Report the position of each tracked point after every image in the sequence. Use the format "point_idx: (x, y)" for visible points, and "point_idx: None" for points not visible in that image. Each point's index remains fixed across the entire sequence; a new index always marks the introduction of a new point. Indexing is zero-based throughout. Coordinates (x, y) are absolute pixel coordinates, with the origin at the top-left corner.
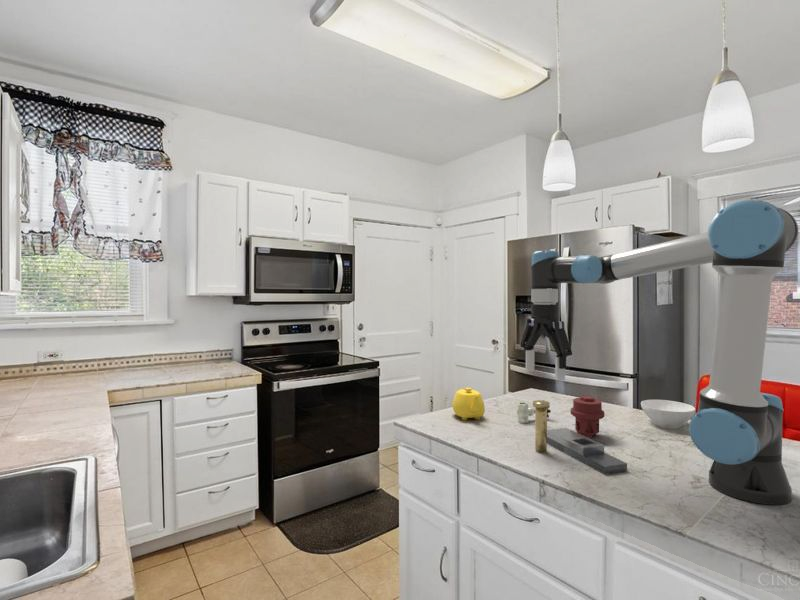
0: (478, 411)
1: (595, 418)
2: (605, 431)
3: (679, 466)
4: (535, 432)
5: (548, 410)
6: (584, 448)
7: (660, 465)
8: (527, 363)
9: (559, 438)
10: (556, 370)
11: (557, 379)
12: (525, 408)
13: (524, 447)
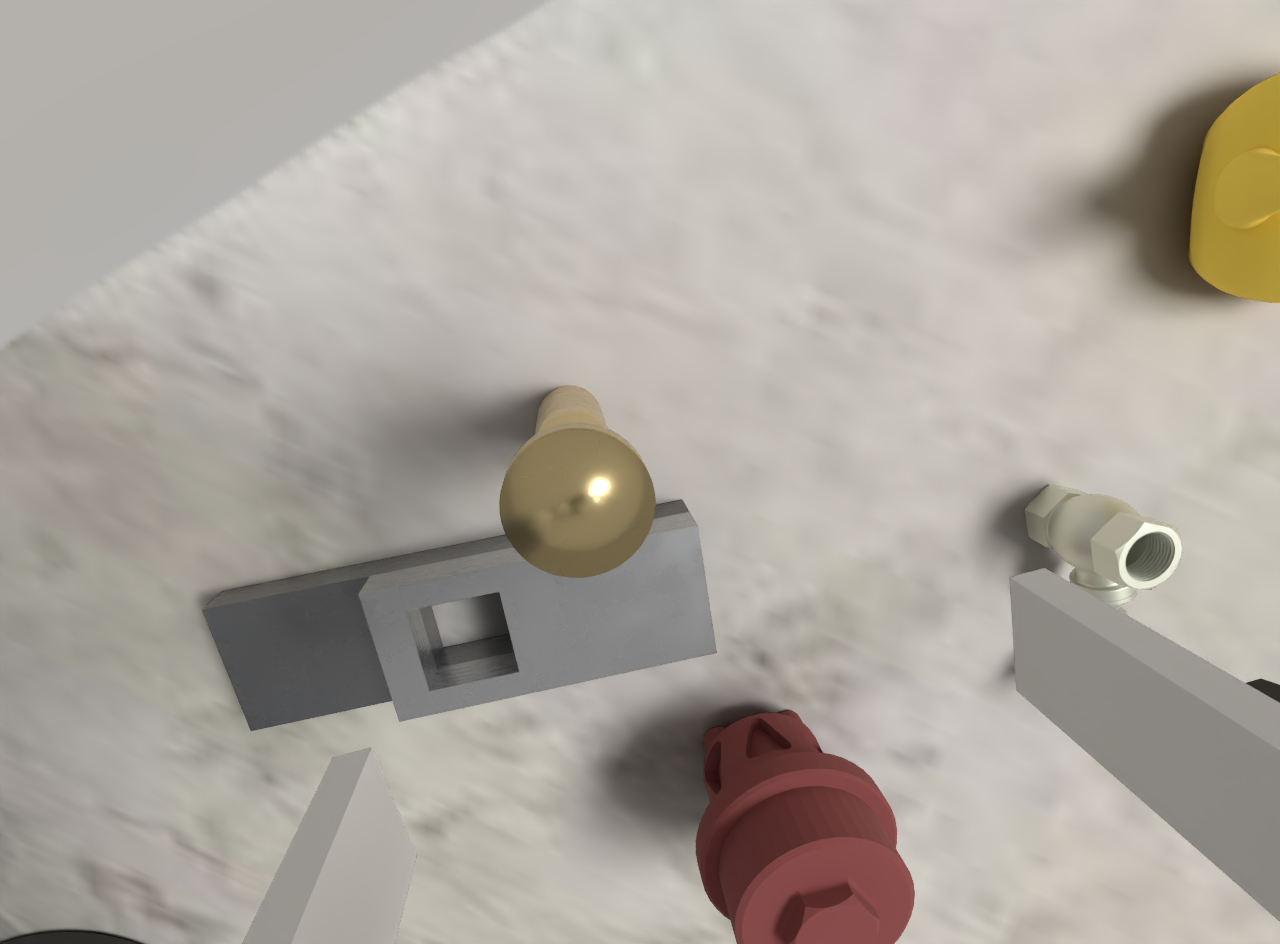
0: (1221, 228)
1: (696, 843)
2: None
3: None
4: (580, 404)
5: None
6: (362, 601)
7: None
8: (1113, 651)
9: None
10: (292, 879)
11: (329, 772)
12: (1096, 552)
13: (637, 344)
